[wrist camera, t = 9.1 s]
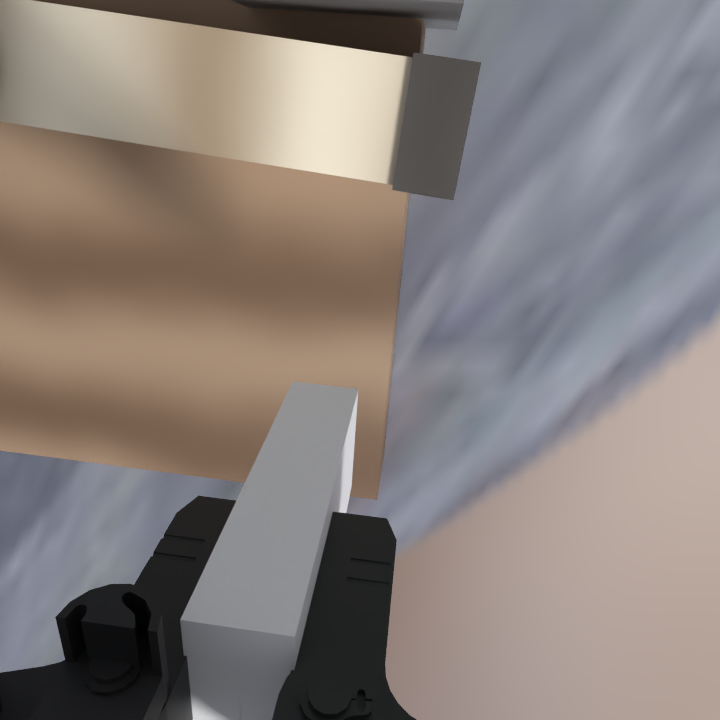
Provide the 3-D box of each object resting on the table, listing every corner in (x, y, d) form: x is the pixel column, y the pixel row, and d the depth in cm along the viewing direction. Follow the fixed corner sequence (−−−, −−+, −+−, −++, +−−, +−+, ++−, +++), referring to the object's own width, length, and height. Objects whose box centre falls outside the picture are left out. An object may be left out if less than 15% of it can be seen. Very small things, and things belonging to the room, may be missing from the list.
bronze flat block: (-51, -87, 20) (-281, -166, 14) (466, -59, 18) (479, -135, 12) (40, 414, 28) (-77, 511, 22) (406, 460, 27) (395, 577, 20)
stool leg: (-39, 109, 19) (-123, 114, 16) (-57, -22, 18) (-154, -42, 15) (450, 188, 18) (452, 207, 16) (476, 58, 17) (482, 53, 14)
